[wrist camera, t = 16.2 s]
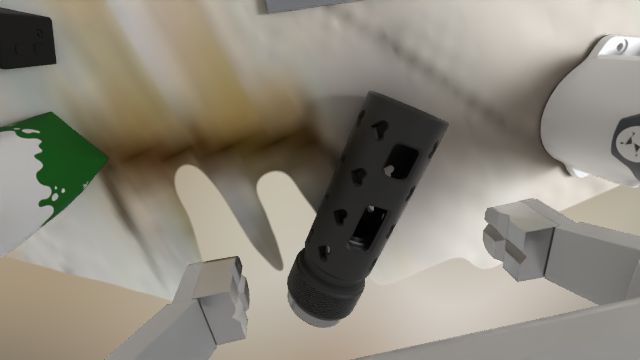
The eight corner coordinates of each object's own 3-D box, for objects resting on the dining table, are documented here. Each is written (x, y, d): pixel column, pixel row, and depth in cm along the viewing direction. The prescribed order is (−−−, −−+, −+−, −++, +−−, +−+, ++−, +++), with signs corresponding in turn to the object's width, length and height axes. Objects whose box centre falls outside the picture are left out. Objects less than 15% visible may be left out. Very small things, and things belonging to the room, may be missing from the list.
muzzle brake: (424, 110, 39) (470, 133, 30) (339, 281, 49) (354, 338, 39) (355, 83, 37) (382, 98, 27) (280, 268, 46) (282, 326, 37)
